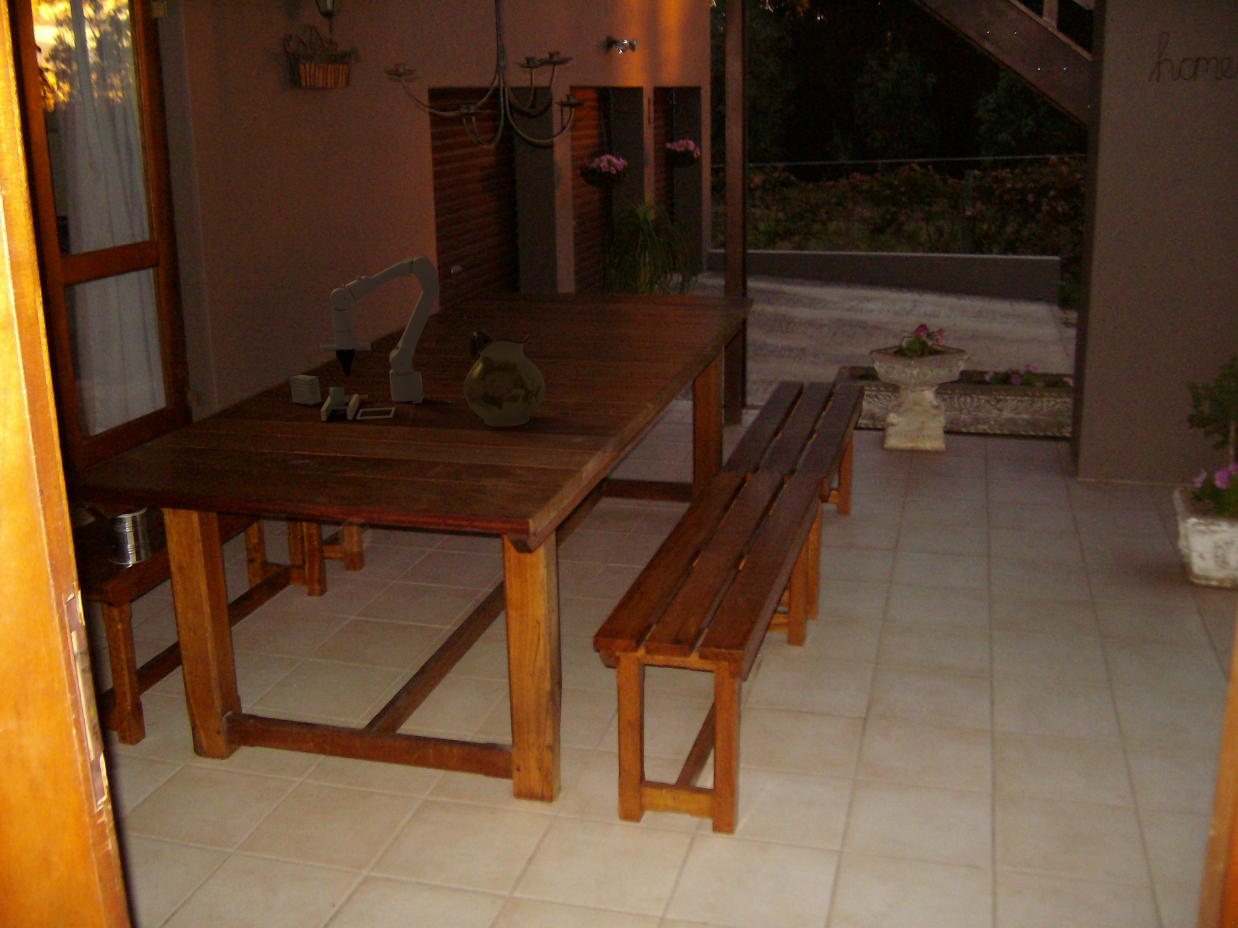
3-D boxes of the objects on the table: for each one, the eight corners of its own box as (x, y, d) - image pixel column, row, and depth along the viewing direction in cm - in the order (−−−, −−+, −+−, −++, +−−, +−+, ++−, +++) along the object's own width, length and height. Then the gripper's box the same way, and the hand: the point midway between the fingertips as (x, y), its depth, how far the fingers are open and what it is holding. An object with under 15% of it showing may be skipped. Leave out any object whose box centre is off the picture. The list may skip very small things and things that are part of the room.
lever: (368, 408, 368) (367, 394, 368) (359, 407, 348) (358, 393, 348) (337, 409, 367) (336, 396, 367) (327, 409, 348) (326, 395, 348)
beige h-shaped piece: (359, 407, 365) (358, 394, 364) (352, 422, 348) (350, 408, 347) (330, 408, 364) (329, 395, 363) (321, 424, 347) (320, 410, 346)
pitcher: (534, 432, 331) (529, 340, 324) (450, 431, 335) (444, 340, 328) (555, 412, 352) (550, 326, 345) (476, 411, 356) (470, 326, 349)
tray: (395, 412, 358) (395, 407, 357) (392, 420, 348) (392, 415, 348) (360, 413, 357) (360, 409, 357) (356, 422, 348) (356, 417, 347)
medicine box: (322, 405, 369) (319, 376, 367) (311, 408, 366) (308, 379, 363) (303, 402, 374) (300, 374, 371) (292, 405, 370) (289, 377, 367)
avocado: (346, 406, 353) (344, 387, 353) (343, 406, 349) (342, 386, 349) (331, 407, 353) (330, 388, 352) (329, 407, 349) (328, 387, 348)
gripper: (370, 326, 364) (374, 371, 368) (320, 328, 363) (325, 373, 367) (367, 330, 358) (371, 376, 361) (316, 333, 356) (321, 378, 360)
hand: (348, 375), depth 364 cm, fingers closed
